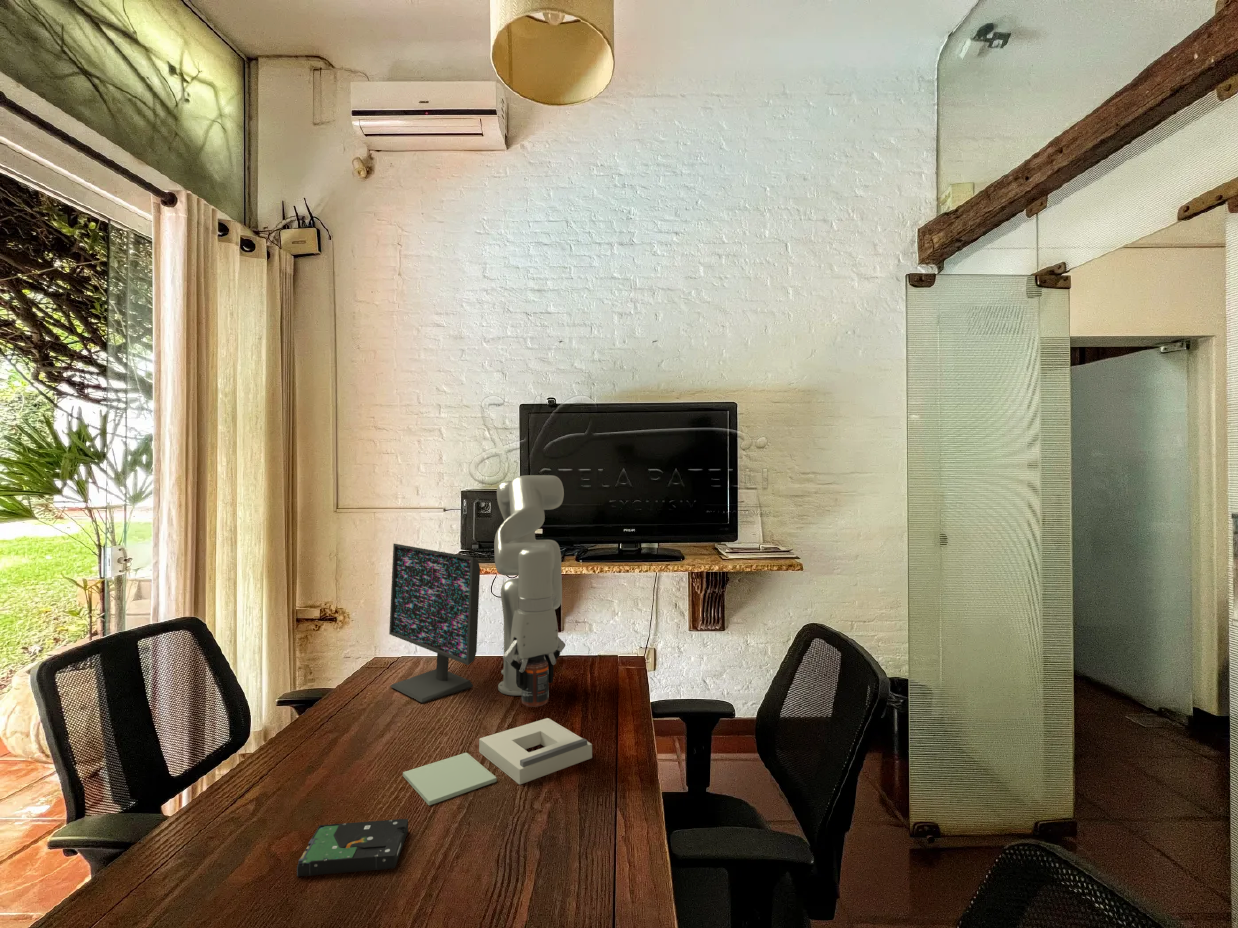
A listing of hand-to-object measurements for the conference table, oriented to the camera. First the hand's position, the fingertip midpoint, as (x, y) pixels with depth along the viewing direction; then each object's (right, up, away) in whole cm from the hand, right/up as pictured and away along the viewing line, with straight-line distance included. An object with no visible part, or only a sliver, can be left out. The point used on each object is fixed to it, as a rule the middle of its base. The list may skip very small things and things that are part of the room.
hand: (535, 683), depth 134 cm
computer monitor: (-35, -16, +40) cm, 56 cm away
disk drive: (-25, -16, -35) cm, 45 cm away
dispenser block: (0, -15, -1) cm, 15 cm away
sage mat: (-16, -15, -11) cm, 25 cm away
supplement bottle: (0, -4, 0) cm, 4 cm away
